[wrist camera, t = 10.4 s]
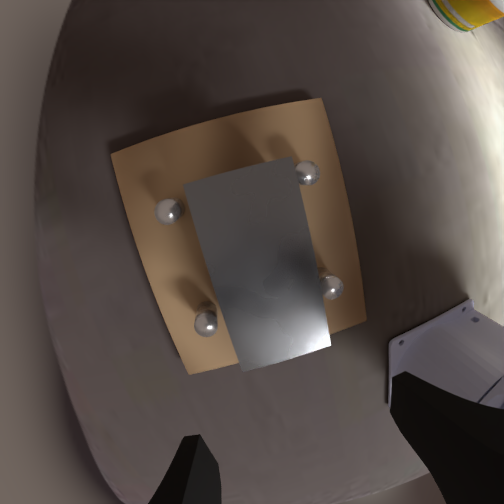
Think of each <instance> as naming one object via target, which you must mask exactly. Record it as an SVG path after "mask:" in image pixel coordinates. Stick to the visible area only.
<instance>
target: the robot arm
mask: <svg viewBox="0 0 504 504" xmlns="http://www.w3.org/2000/svg"><path fill="white" fill-rule="evenodd" d="M400 341H401V342H400ZM399 342H400V343H399ZM388 407H389V408H390V413H391V415H392V417H393V419H394V421H395V423H396V425H397V426H398V428H399V430H400V432H401V433H402V434H403V436H404V437H405V439H406V440H407V441H408V443H409V444H410V445H411V447H412V448H413V449H414V451H415V452H416V453H417V455H418V456H419V457H420V459H421V460H422V461H423V463H424V464H425V465H426V467H427V468H428V470H429V471H430V473H431V474H432V476H433V478H434V480H435V482H436V483H437V485H438V487H439V489H440V491H441V493H442V495H443V497H444V499H445V501H446V504H504V327H503V326H502V325H500V324H498V323H497V322H495V321H493V320H492V319H490V318H488V317H486V316H485V315H483V314H481V313H479V312H478V311H476V310H474V301H473V300H472V299H468V300H466V301H465V302H463V303H461V304H460V305H458V306H456V307H454V308H452V309H451V310H449V311H447V312H445V313H443V314H441V315H440V316H438V317H436V318H434V319H432V320H430V321H428V322H426V323H424V324H422V325H420V326H418V327H416V328H414V329H412V330H410V331H408V332H406V333H404V334H402V335H399V336H397V337H395V338H393V339H392V340H391V341H390V342H389V396H388ZM148 504H221V480H220V473H219V466H218V463H217V461H216V460H215V458H214V456H213V455H212V453H211V452H210V450H209V448H208V447H207V445H206V444H205V442H204V440H203V439H202V437H201V435H200V434H199V435H192V436H185V437H184V438H183V439H182V441H181V443H180V446H179V448H178V450H177V452H176V454H175V456H174V458H173V461H172V463H171V465H170V467H169V469H168V471H167V472H166V474H165V476H164V478H163V480H162V482H161V484H160V485H159V487H158V489H157V490H156V492H155V494H154V495H153V497H152V498H151V500H150V501H149V503H148Z"/></svg>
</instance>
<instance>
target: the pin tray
mask: <svg viewBox="0 0 504 504" xmlns="http://www.w3.org/2000/svg"><path fill="white" fill-rule="evenodd" d="M290 156H292V159H293V163H294V166H295V170H296V174H297V178H298V182H299V187H300V191H301V195H302V199H303V203H304V208H305V212H306V216H307V221H308V225H309V230H310V234H311V239H312V244H313V249H314V253H315V258H316V263H317V268H318V274H319V279H320V284H321V289H322V295H323V300H324V306H325V312H326V318H327V324H328V330H329V335H330V334H333V333H336V332H338V331H341V330H344V329H346V328H349V327H352V326H354V325H357V324H360V323H362V322H365V321H367V317H366V308H365V299H364V291H363V283H362V276H361V269H360V262H359V256H358V250H357V244H356V238H355V232H354V227H353V222H352V216H351V211H350V206H349V202H348V197H347V192H346V188H345V183H344V179H343V175H342V170H341V166H340V162H339V158H338V154H337V150H336V147H335V143H334V139H333V136H332V132H331V128H330V125H329V121H328V118H327V115H326V111H325V108H324V105H323V102H322V98H317V99H310V100H303V101H297V102H291V103H285V104H280V105H274V106H269V107H264V108H259V109H255V110H250V111H246V112H241V113H237V114H233V115H229V116H225V117H221V118H217V119H213V120H210V121H206V122H203V123H199V124H196V125H192V126H189V127H186V128H182V129H179V130H176V131H173V132H170V133H167V134H164V135H161V136H158V137H155V138H152V139H149V140H146V141H143V142H141V143H138V144H135V145H133V146H130V147H127V148H125V149H122V150H120V151H117V152H115V153H112V154H111V158H112V162H113V166H114V170H115V174H116V178H117V182H118V185H119V189H120V193H121V196H122V200H123V203H124V207H125V210H126V214H127V217H128V220H129V223H130V227H131V230H132V233H133V236H134V239H135V242H136V245H137V248H138V251H139V254H140V257H141V260H142V263H143V266H144V268H145V271H146V274H147V277H148V279H149V282H150V285H151V287H152V290H153V293H154V295H155V298H156V300H157V303H158V305H159V308H160V310H161V313H162V315H163V318H164V320H165V323H166V325H167V327H168V330H169V332H170V334H171V337H172V339H173V341H174V343H175V346H176V348H177V350H178V352H179V355H180V357H181V359H182V361H183V363H184V365H185V367H186V370H187V372H188V374H189V375H190V374H195V373H199V372H203V371H208V370H212V369H216V368H220V367H224V366H228V365H232V364H236V363H239V361H238V358H237V355H236V353H235V350H234V347H233V344H232V341H231V338H230V335H229V333H228V330H227V327H226V324H225V321H224V318H223V315H222V312H221V309H220V306H219V303H218V300H217V297H216V294H215V291H214V287H213V284H212V281H211V278H210V275H209V272H208V269H207V265H206V262H205V259H204V256H203V252H202V249H201V246H200V242H199V239H198V236H197V232H196V229H195V226H194V222H193V219H192V215H191V212H190V208H189V205H188V201H187V198H186V194H185V190H184V187H183V184H186V183H190V182H193V181H196V180H200V179H203V178H207V177H210V176H214V175H218V174H221V173H225V172H229V171H232V170H236V169H240V168H244V167H248V166H252V165H256V164H260V163H264V162H268V161H273V160H277V159H281V158H286V157H290Z"/></svg>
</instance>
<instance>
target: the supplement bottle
mask: <svg viewBox="0 0 504 504" xmlns="http://www.w3.org/2000/svg"><path fill="white" fill-rule="evenodd" d="M428 1H429V3H430V5H431V7H432V8H433V10H434V12H435V13H436V14H437V16H438V17H439V18H440V19H441V20H442V21H443V22H444V23H445V24H446V25H447V26H449V27H450V28H452V29H453V30H455V31H458V32H462V33H464V32H468V31H470V30H473V29H475V28H477V27H480V26H482V25H484V24H487V23H489V22H491V21H494V20H496V19H499V18H502V17H504V0H428Z"/></svg>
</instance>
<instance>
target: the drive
mask: <svg viewBox="0 0 504 504" xmlns="http://www.w3.org/2000/svg"><path fill="white" fill-rule="evenodd" d="M183 187H184V190H185V194H186V198H187V201H188V205H189V208H190V212H191V215H192V219H193V222H194V226H195V229H196V232H197V236H198V239H199V242H200V246H201V249H202V252H203V256H204V259H205V262H206V265H207V269H208V272H209V275H210V278H211V281H212V284H213V287H214V291H215V294H216V297H217V300H218V303H219V306H220V309H221V312H222V315H223V318H224V321H225V324H226V327H227V330H228V333H229V335H230V338H231V341H232V344H233V347H234V350H235V353H236V355H237V358H238V361H239V364H240V367H241V369H242V372H245V371H249V370H253V369H256V368H260V367H264V366H267V365H271V364H274V363H278V362H281V361H284V360H288V359H291V358H294V357H297V356H300V355H304V354H307V353H310V352H313V351H316V350H319V349H322V348H325V347H327V346H330V345H331V342H330V336H329V330H328V324H327V318H326V312H325V306H324V300H323V295H322V289H321V284H320V279H319V274H318V268H317V263H316V258H315V253H314V249H313V244H312V239H311V234H310V230H309V225H308V221H307V216H306V212H305V208H304V203H303V199H302V195H301V191H300V187H299V182H298V178H297V174H296V170H295V166H294V163H293V159H292V156H290V157H286V158H281V159H277V160H273V161H268V162H264V163H260V164H256V165H252V166H248V167H244V168H240V169H236V170H232V171H229V172H225V173H221V174H218V175H214V176H210V177H207V178H203V179H200V180H196V181H193V182H190V183H186V184H183Z"/></svg>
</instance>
